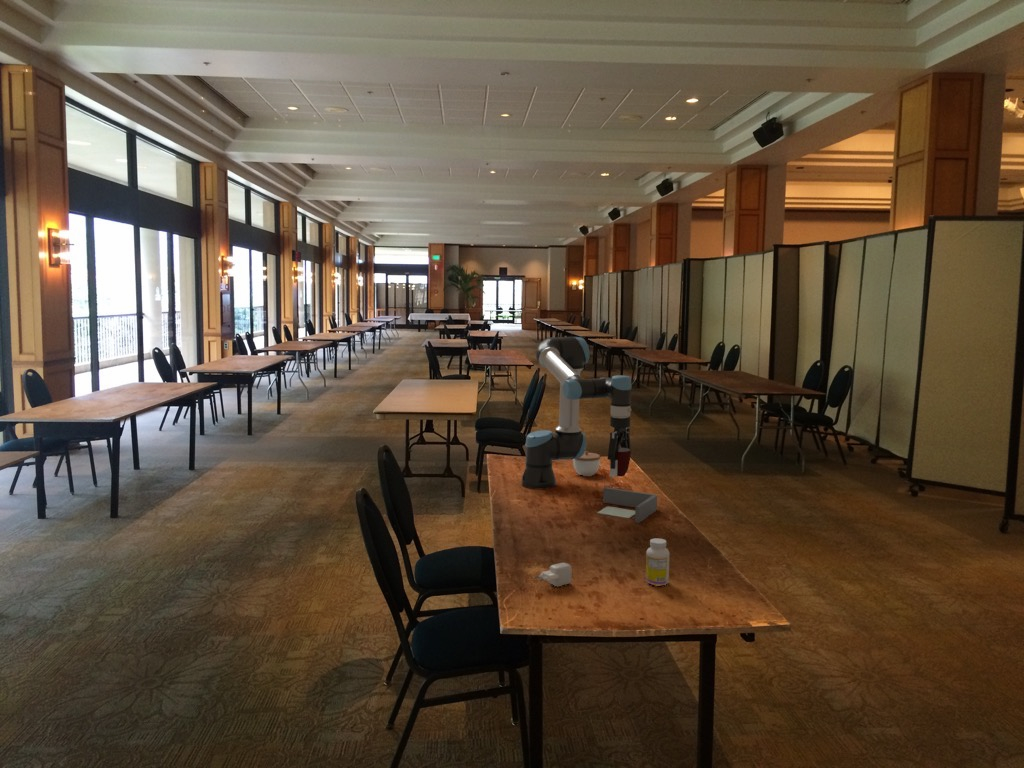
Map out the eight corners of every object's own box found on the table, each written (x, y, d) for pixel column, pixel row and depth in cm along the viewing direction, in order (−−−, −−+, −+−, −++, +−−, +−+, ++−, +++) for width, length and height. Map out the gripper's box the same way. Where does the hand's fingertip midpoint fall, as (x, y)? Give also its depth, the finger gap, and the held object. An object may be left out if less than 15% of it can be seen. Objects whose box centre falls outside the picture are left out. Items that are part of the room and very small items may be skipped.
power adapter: (541, 593, 215) (541, 573, 214) (532, 587, 219) (532, 567, 218) (573, 585, 220) (573, 565, 220) (563, 579, 224) (563, 560, 224)
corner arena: (583, 513, 290) (584, 498, 290) (604, 501, 307) (605, 487, 307) (638, 523, 279) (639, 507, 278) (657, 509, 296) (657, 494, 296)
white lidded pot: (566, 474, 353) (567, 450, 351) (585, 469, 361) (585, 447, 360) (587, 479, 344) (587, 455, 342) (605, 474, 352) (606, 451, 351)
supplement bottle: (652, 577, 227) (653, 535, 226) (672, 582, 223) (674, 540, 221) (641, 583, 222) (642, 541, 220) (661, 589, 218) (663, 546, 216)
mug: (606, 471, 296) (607, 445, 295) (627, 471, 296) (628, 446, 294) (609, 477, 285) (610, 451, 284) (631, 478, 285) (632, 452, 284)
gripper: (618, 421, 276) (616, 481, 279) (640, 413, 296) (638, 469, 298) (599, 419, 280) (597, 478, 283) (622, 411, 299) (621, 466, 302)
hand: (618, 473), depth 290 cm, fingers closed on mug, 10 cm apart
